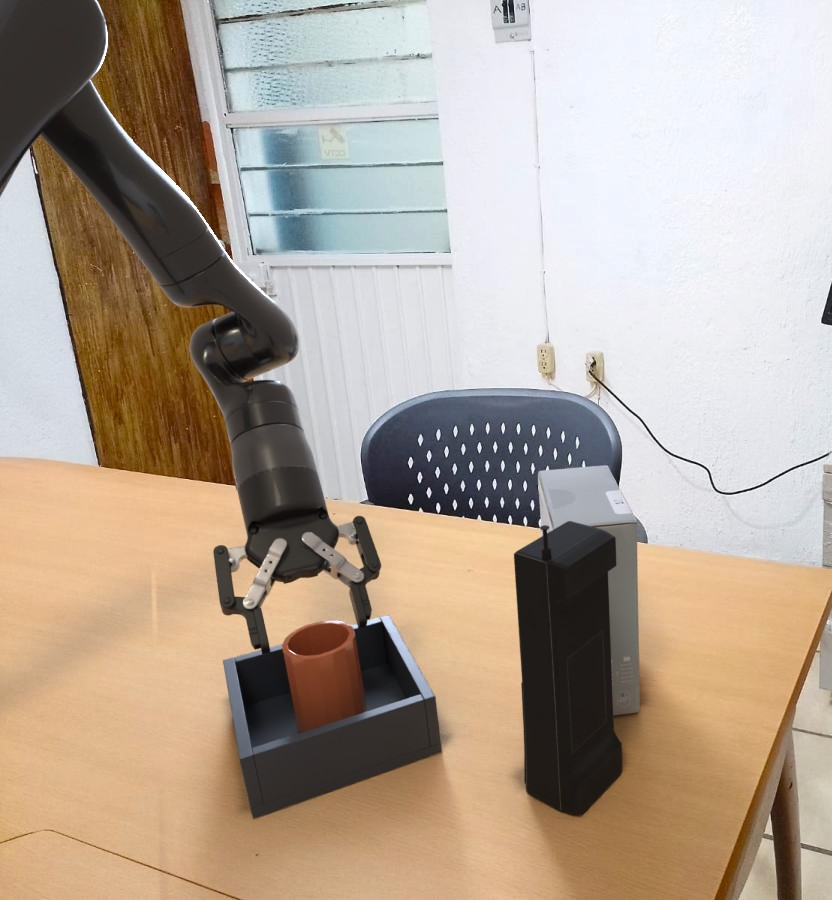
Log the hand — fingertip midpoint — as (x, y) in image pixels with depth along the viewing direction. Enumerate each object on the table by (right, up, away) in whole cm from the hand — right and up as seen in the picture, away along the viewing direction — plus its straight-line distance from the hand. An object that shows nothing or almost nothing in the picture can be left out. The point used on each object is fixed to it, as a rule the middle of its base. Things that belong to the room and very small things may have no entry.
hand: (316, 638), depth 75 cm
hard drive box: (+25, -6, +10) cm, 27 cm away
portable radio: (+24, -11, -4) cm, 27 cm away
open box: (+1, -9, +2) cm, 10 cm away
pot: (+1, -8, +2) cm, 9 cm away
